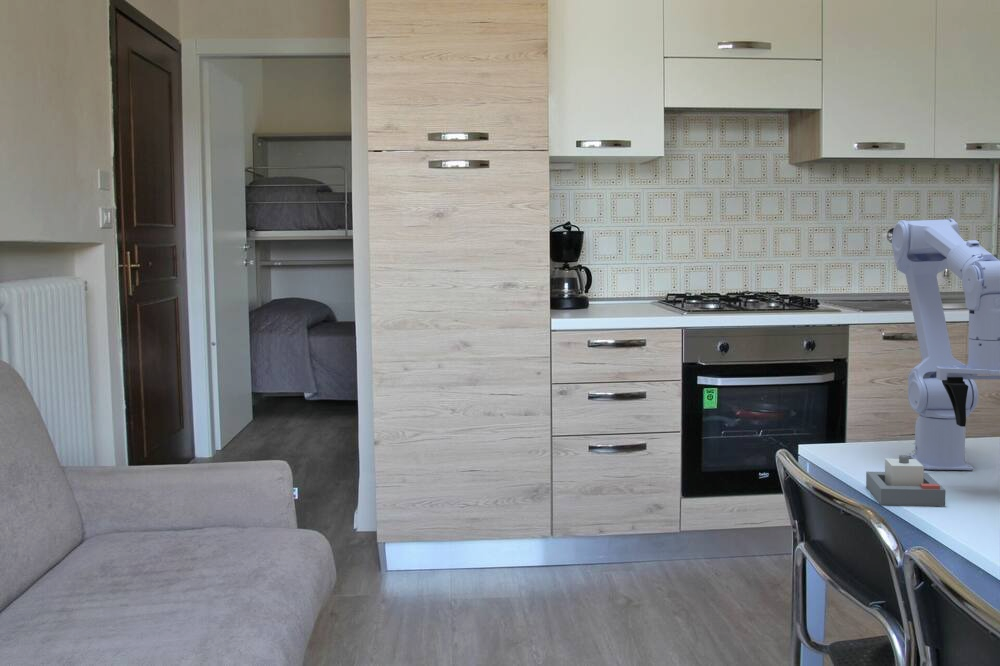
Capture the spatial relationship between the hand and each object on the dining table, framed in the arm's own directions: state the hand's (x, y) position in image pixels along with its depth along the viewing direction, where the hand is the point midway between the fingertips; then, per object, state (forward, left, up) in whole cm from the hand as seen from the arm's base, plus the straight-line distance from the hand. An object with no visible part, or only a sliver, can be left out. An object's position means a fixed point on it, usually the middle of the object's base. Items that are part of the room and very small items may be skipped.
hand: (987, 425), depth 135 cm
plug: (+4, -13, -10) cm, 17 cm away
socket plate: (+4, -13, -10) cm, 17 cm away
